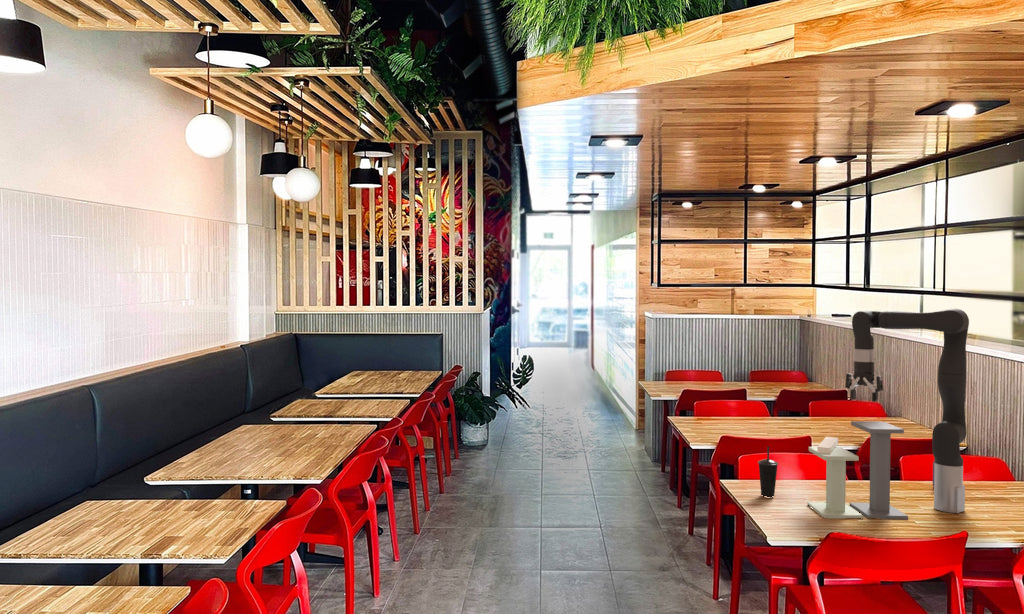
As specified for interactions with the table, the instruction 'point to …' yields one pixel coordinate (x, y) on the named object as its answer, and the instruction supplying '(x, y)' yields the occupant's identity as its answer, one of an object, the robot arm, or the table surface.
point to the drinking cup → (767, 475)
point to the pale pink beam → (827, 445)
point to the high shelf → (879, 471)
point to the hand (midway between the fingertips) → (863, 400)
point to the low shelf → (835, 485)
